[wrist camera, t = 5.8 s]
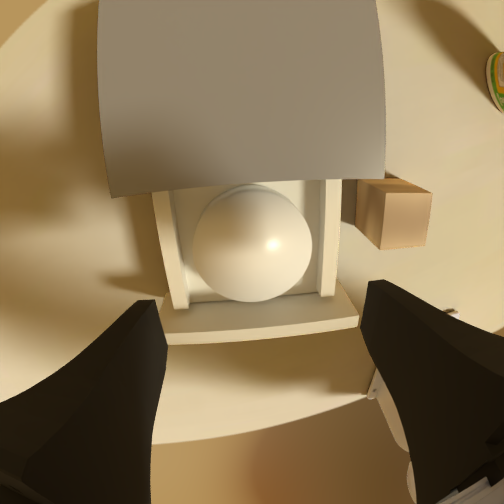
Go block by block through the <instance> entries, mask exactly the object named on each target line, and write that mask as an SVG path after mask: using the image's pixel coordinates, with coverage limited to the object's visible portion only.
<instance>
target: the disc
mask: <svg viewBox="0 0 504 504" xmlns="http://www.w3.org/2000/svg"><path fill="white" fill-rule="evenodd" d="M192 250H193V259H194V263H195V266H196V269H197V271H198V273H199V275H200V276H201V278H202V279H203V281H204V282H205V283H206V284H207V285H208V286H209V287H210V288H211V289H213V290H214V291H215V292H217V293H218V294H220V295H222V296H224V297H227V298H229V299H232V300H237V301H243V302H258V301H264V300H268V299H271V298H274V297H277V296H279V295H281V294H283V293H284V292H286V291H288V290H289V289H290V288H291V287H293V286H294V285H295V284H296V283H297V282H298V281H299V279H300V278H301V277H302V276H303V274H304V272H305V271H306V269H307V267H308V265H309V262H310V258H311V253H312V238H311V233H310V229H309V227H308V225H307V222H306V221H305V219H304V218H303V216H302V215H301V213H300V212H299V211H298V209H297V208H296V206H295V205H294V204H293V203H292V202H291V200H289V199H288V198H287V197H286V196H285V195H283V194H282V193H280V192H278V191H276V190H274V189H272V188H269V187H265V186H260V185H243V186H238V187H234V188H232V189H229V190H227V191H225V192H223V193H221V194H220V195H218V196H217V197H215V198H214V199H213V200H212V201H211V202H210V203H209V204H208V205H207V207H206V208H205V209H204V211H203V213H202V214H201V216H200V219H199V221H198V225H197V228H196V231H195V235H194V239H193V246H192Z"/></svg>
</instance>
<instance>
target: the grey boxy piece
mask: <svg viewBox="0 0 504 504" xmlns="http://www.w3.org/2000/svg"><path fill="white" fill-rule="evenodd" d="M97 76H98V97H99V111H100V122H101V132H102V141H103V149H104V157H105V164H106V171H107V177H108V183H109V189H110V195H111V198H117V197H123V196H130V195H138V194H145V193H153V192H161V191H169V190H178V189H187V188H197V187H207V186H218V185H230V184H243V183H257V182H274V181H295V180H325V179H384V175H385V149H386V106H385V82H384V67H383V55H382V44H381V36H380V28H379V20H378V13H377V7H376V1H375V0H99V8H98V28H97Z"/></svg>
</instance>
